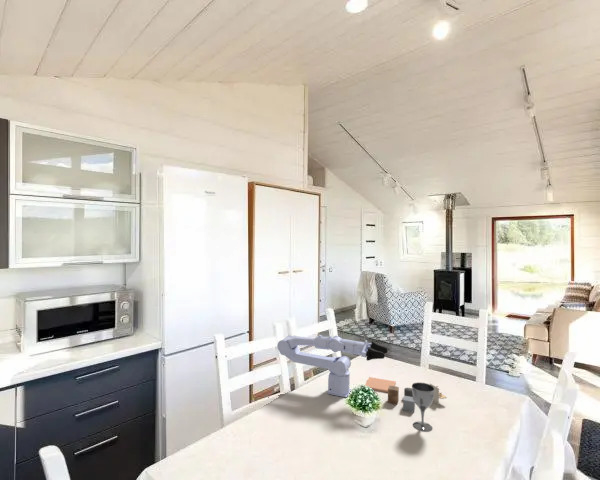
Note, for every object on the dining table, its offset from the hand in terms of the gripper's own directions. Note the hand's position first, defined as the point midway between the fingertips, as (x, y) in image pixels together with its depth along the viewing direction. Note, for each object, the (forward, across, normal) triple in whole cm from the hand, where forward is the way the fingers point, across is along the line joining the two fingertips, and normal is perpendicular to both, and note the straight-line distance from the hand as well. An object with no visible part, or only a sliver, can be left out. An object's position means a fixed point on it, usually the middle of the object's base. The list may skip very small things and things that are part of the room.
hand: (385, 353), depth 150 cm
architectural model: (+21, +9, +21) cm, 31 cm away
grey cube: (+11, -3, +20) cm, 24 cm away
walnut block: (+4, +1, +21) cm, 21 cm away
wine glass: (+17, -15, +20) cm, 31 cm away
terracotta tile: (-4, +15, +21) cm, 26 cm away
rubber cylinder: (+10, +7, +20) cm, 24 cm away
